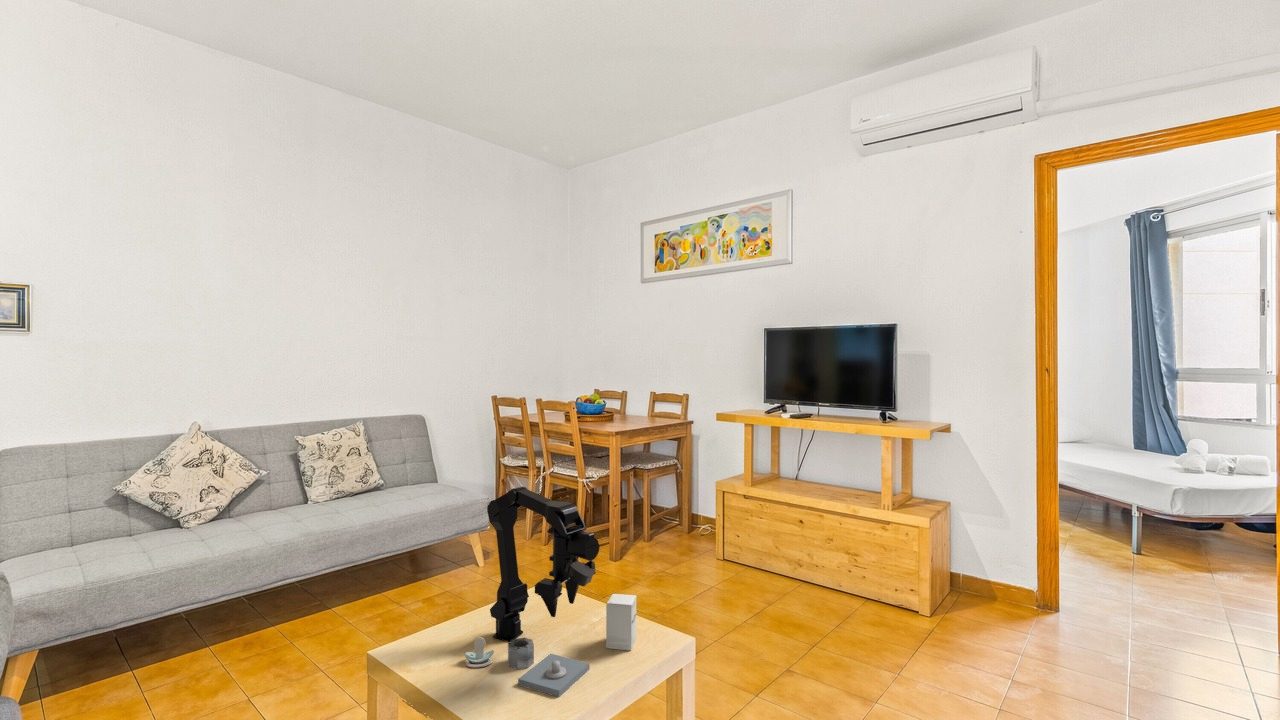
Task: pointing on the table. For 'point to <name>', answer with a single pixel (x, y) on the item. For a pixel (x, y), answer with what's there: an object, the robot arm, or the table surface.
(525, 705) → the table surface
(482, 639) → the pacifier
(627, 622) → the supplement box
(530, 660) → the hub
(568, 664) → the block
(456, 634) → the table surface
